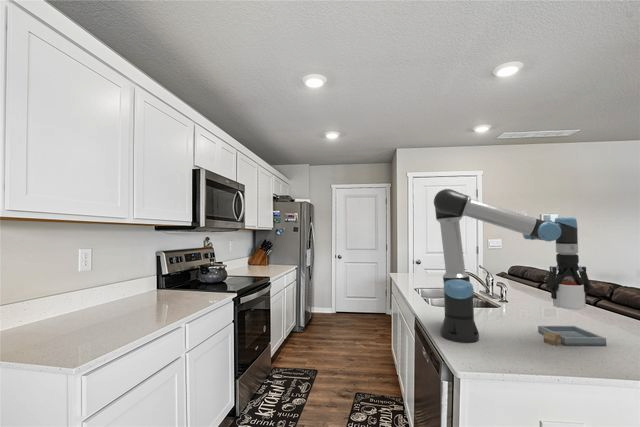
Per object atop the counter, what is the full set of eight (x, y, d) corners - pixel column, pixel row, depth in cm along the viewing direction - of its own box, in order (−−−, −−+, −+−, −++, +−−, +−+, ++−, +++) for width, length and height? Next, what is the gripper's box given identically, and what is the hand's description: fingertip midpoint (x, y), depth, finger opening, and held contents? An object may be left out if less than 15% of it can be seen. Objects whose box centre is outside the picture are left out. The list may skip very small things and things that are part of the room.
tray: (565, 345, 126) (565, 338, 126) (538, 332, 142) (538, 325, 142) (606, 345, 126) (605, 338, 126) (574, 332, 142) (574, 325, 142)
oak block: (553, 345, 127) (553, 335, 127) (543, 342, 130) (543, 332, 131) (560, 344, 128) (560, 334, 128) (550, 341, 132) (550, 331, 132)
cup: (590, 311, 129) (589, 286, 129) (562, 309, 131) (561, 285, 131) (575, 305, 138) (574, 281, 139) (549, 304, 140) (549, 281, 141)
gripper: (546, 254, 132) (548, 309, 131) (601, 254, 132) (604, 308, 131) (534, 253, 139) (536, 304, 138) (586, 252, 139) (588, 304, 138)
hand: (569, 306), depth 135 cm, fingers closed on cup, 10 cm apart
